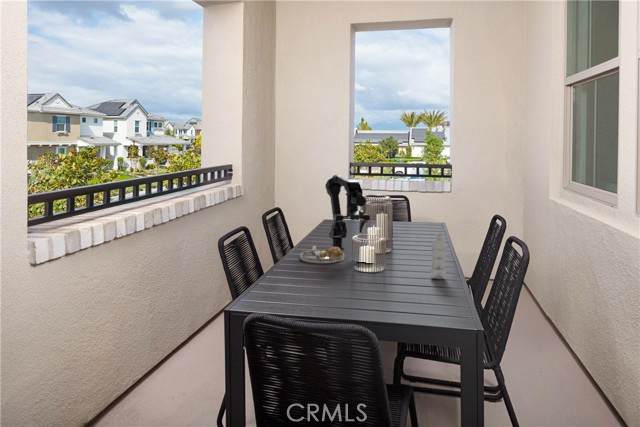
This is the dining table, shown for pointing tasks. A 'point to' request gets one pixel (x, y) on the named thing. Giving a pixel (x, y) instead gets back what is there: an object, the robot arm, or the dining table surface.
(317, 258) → the carrier
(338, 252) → the planet gear
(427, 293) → the dining table surface
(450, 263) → the dining table surface
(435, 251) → the plastic bottle
